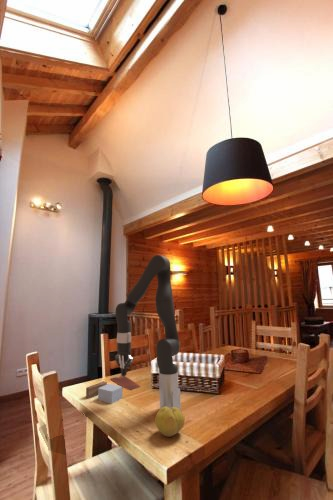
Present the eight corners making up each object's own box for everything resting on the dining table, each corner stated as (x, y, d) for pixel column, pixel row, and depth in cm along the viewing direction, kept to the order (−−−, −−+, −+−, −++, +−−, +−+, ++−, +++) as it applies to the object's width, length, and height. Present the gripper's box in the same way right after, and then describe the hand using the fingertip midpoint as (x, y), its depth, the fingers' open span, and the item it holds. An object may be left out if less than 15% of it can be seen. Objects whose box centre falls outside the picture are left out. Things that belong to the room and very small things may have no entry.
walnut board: (106, 391, 149) (107, 382, 150) (89, 398, 139) (89, 388, 140) (103, 390, 151) (103, 381, 151) (86, 397, 141) (86, 387, 142)
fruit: (179, 445, 95) (178, 415, 96) (150, 439, 99) (150, 411, 100) (188, 430, 105) (187, 403, 106) (161, 425, 109) (161, 400, 111)
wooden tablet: (109, 380, 170) (109, 377, 170) (123, 377, 176) (123, 374, 176) (127, 392, 149) (127, 389, 149) (142, 387, 154) (142, 385, 155)
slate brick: (122, 398, 139) (122, 386, 140) (111, 404, 132) (111, 391, 133) (108, 395, 144) (108, 383, 145) (98, 400, 137) (98, 388, 138)
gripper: (138, 341, 136) (137, 376, 133) (120, 338, 144) (120, 371, 141) (127, 343, 130) (127, 380, 127) (110, 340, 138) (109, 375, 135)
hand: (123, 375), depth 134 cm, fingers closed
